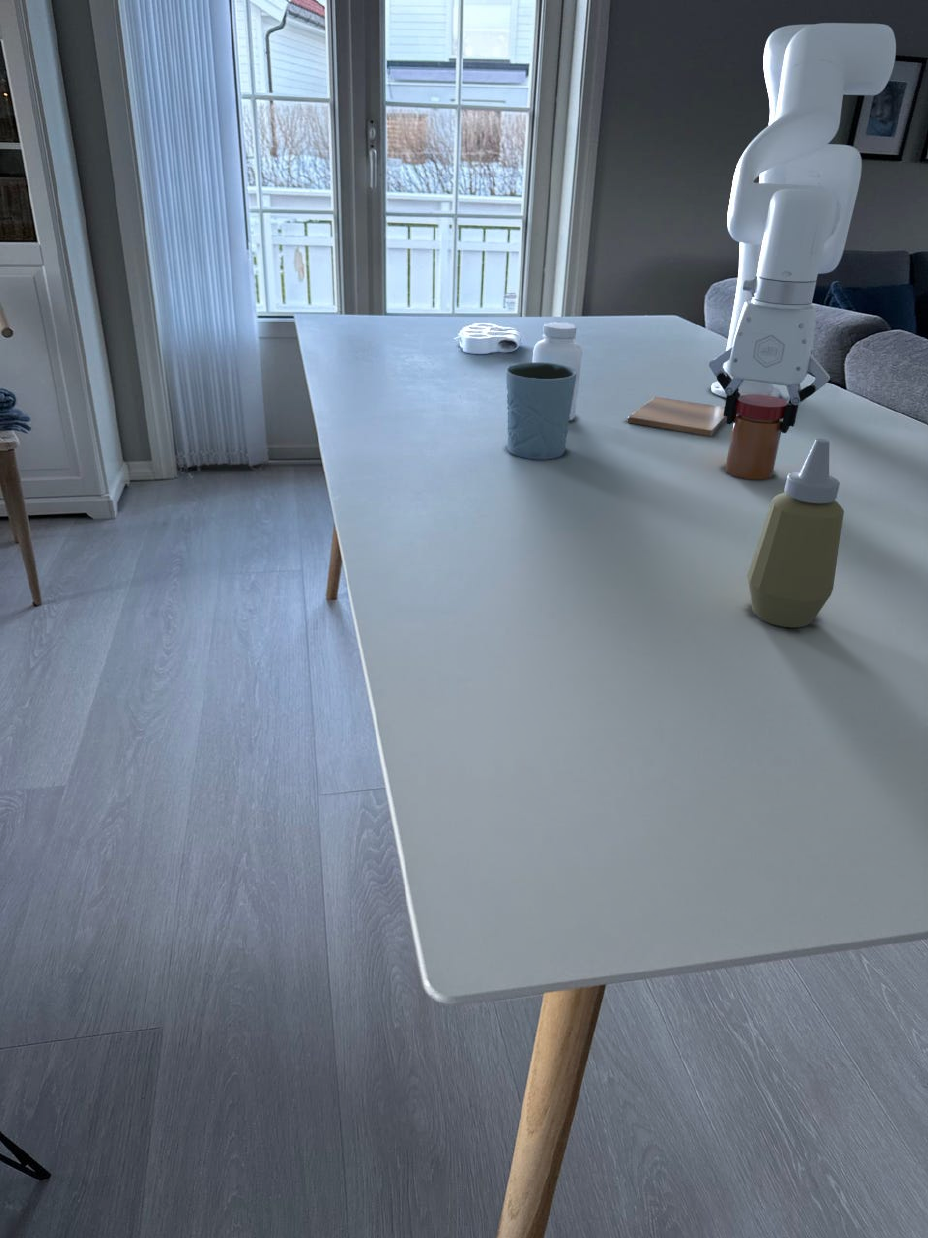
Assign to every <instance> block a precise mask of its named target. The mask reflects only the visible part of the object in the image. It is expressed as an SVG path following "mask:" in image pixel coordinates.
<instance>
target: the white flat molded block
mask: <svg viewBox="0 0 928 1238" xmlns="http://www.w3.org/2000/svg"><path fill="white" fill-rule="evenodd" d="M457 335H458V336H457V337H454V338H453V340H455V341H456V342H457V343H459V346H460V348H461V349H462V351H463V352H464V353H465V354H466V353H467V354H472V355H485V354H491V353H512V352H514V351H517V350H518V349H519V346H520V344H521V342H522V340H523V339H524V333H523V332H522V331H520V330H519V329H517V328H513V327H507V326H499V325H497V324H494V323H487V322H485V323H484V322H479V323H473V324H471V325H468V326H467V325H466V326H464V327H462V329H461V330H460V332H459V333H457Z"/></svg>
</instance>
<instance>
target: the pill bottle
mask: <svg viewBox="0 0 928 1238" xmlns="http://www.w3.org/2000/svg"><path fill="white" fill-rule="evenodd" d="M577 328H578V327H577V326H576V325H575V324H573V323H568V322H560V321H559V322H557V321H554V322H546V323H544V324H543V328H542V337H543V339H541V340H539V341H537V342H536V343H535V345H534V347H533V351H532V362H531V363H552V364H558V365H563V366H567V367H570V368H572V369H574V370H575V371H576V372H577V377H576V382H575V388H574V394H573V399H572V406H571V413H570V416H569V418H570V419H569V422H570V421H573V420H574V418H575V417H576V412H577V403H578V393H579V383H580V376H581V375H580V374H581V367H582V357H583V352H582V347H581V345H579V344H578V343H577V342H575V340H576V336H577Z"/></svg>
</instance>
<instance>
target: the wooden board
mask: <svg viewBox="0 0 928 1238" xmlns="http://www.w3.org/2000/svg"><path fill="white" fill-rule="evenodd" d="M724 409H725V406H718V405H713V404H705V403H699V402H692V401H687V400H686V401H685V400H679V399H673V398H667V397H661V396H654V397H653V398H651V400H649V401H647V402H646V403H644V404H643V405H642V406H641V407H640V408H638V409H637V410H636V411H635V412H632V414H630V415H629V416H628V417H627V423H628V424H635V425H638V426H639V425H640V426H646V427H653V428H659V429H663V430H669V431H676V432H681V433H688V434H694V435H701V436H706V437H712V436H713V435H714V434H715V433H716V432H717V430H718V429H719V428H720V427H721V426H722V425H723V424H724V423H726V421H727V416H724Z"/></svg>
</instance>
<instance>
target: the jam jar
mask: <svg viewBox="0 0 928 1238" xmlns="http://www.w3.org/2000/svg"><path fill="white" fill-rule="evenodd" d="M782 422H783V419H779V420H760V419H753V418H748V417H745V416H742V415H739V414H737V413H736V414H735V418H734V422H733V423H732V424H733V425H732V430H731V434H730V441H729V445H728V451H727V457H726V463H725V467H724V469H725V473H727V474H729V475H731V476H733V477H736V478H741V479H744V480H745V479H746V480H756V481H760V480H768V479H770V478H772V477H773V474H774V470H775V464H776V460H777V455H778V450H779V447H780V440H781V436H782V432H781V427H782Z"/></svg>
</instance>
